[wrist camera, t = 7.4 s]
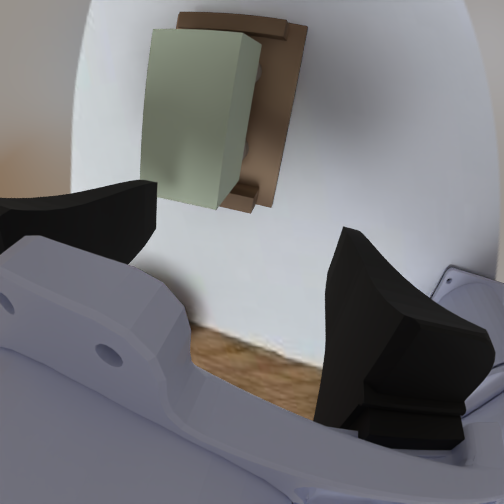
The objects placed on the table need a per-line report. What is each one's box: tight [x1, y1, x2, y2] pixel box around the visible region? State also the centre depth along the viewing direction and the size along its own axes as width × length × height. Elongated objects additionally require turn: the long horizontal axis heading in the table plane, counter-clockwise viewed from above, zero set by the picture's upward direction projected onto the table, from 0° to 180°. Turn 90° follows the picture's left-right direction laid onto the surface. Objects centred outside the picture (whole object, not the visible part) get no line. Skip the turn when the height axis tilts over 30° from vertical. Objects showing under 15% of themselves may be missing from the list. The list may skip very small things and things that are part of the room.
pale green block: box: [140, 29, 262, 210], centre depth 15 cm, size 8×4×4 cm, turn 170°
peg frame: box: [176, 12, 308, 214], centre depth 18 cm, size 12×8×3 cm, turn 170°
